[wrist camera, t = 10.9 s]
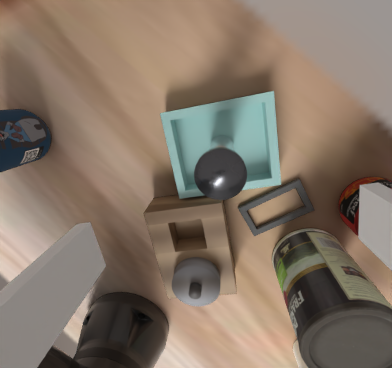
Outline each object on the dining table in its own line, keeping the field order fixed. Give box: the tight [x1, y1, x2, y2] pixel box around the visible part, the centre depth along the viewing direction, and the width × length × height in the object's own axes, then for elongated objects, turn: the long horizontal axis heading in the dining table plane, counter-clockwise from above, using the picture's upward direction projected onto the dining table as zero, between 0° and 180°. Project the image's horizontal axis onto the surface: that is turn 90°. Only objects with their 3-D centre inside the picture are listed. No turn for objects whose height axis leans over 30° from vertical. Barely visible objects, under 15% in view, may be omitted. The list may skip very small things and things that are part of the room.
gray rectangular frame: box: [238, 179, 314, 236], centre depth 34 cm, size 9×5×1 cm, turn 121°
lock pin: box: [194, 135, 247, 200], centre depth 25 cm, size 4×4×12 cm
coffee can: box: [272, 228, 392, 368], centre depth 29 cm, size 10×10×14 cm
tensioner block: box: [144, 195, 237, 306], centre depth 33 cm, size 14×10×8 cm
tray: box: [160, 91, 281, 199], centre depth 30 cm, size 13×11×3 cm
